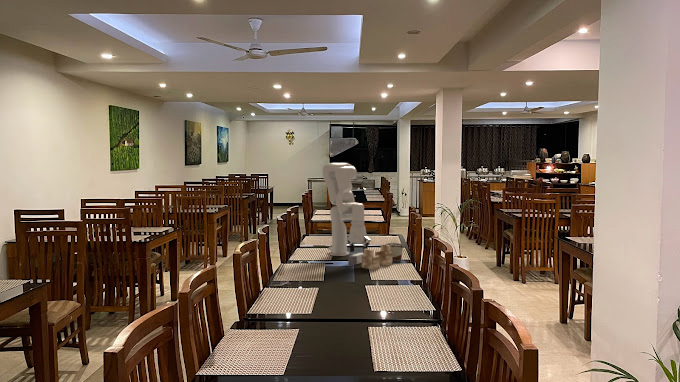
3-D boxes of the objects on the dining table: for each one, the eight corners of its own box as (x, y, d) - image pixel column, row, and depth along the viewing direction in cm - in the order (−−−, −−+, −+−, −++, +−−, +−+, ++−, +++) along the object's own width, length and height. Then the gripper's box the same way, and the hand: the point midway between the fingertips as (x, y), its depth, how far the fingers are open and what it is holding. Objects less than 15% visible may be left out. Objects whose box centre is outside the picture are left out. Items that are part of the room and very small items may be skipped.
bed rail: (348, 264, 300) (348, 255, 299) (362, 260, 310) (362, 252, 310) (353, 265, 297) (353, 256, 297) (367, 260, 308) (367, 252, 308)
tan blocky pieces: (361, 267, 290) (361, 248, 289) (380, 261, 305) (380, 243, 304) (374, 269, 285) (373, 250, 284) (392, 263, 300) (392, 245, 299)
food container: (403, 258, 313) (403, 242, 312) (403, 261, 307) (403, 244, 306) (383, 258, 314) (383, 242, 313) (383, 260, 308) (383, 244, 307)
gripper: (342, 224, 304) (343, 252, 305) (366, 225, 293) (366, 254, 294) (350, 222, 310) (351, 250, 311) (373, 224, 299) (374, 252, 300)
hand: (358, 252), depth 302 cm, fingers open, 9 cm apart
